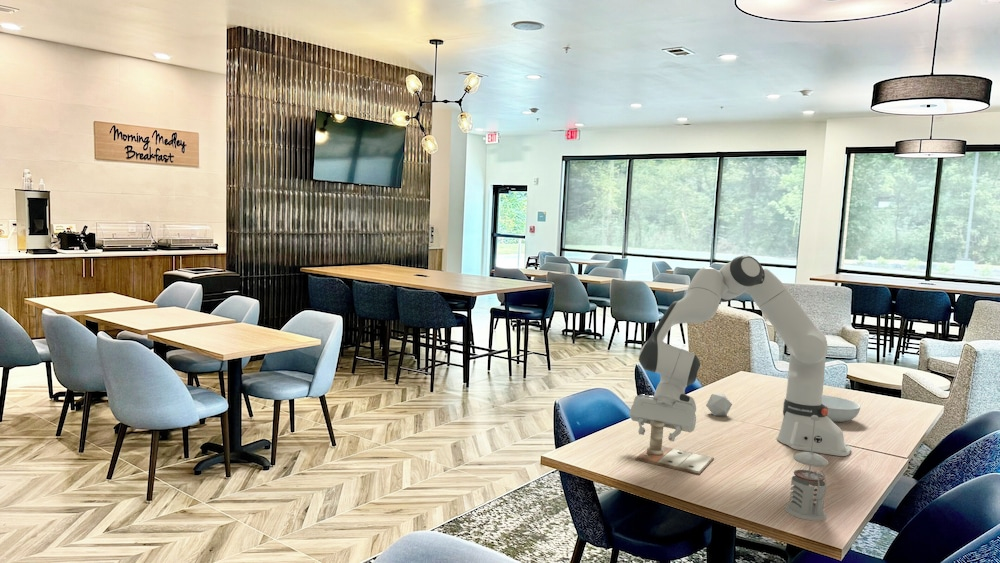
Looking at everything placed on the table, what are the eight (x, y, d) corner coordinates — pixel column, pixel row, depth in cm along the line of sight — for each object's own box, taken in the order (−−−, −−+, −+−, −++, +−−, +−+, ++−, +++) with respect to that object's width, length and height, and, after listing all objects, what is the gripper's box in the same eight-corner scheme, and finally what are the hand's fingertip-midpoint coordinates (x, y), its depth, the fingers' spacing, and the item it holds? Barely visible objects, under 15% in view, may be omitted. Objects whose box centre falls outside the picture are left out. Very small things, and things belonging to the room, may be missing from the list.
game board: (713, 459, 210) (714, 456, 210) (699, 474, 195) (699, 472, 195) (653, 445, 219) (653, 443, 219) (635, 459, 205) (635, 457, 205)
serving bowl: (789, 415, 267) (791, 398, 267) (813, 408, 281) (815, 392, 281) (845, 429, 252) (847, 411, 251) (867, 421, 266) (869, 404, 265)
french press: (815, 505, 178) (824, 410, 176) (838, 524, 166) (849, 424, 164) (777, 503, 178) (786, 408, 176) (798, 523, 166) (808, 422, 164)
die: (729, 421, 257) (739, 399, 260) (709, 408, 256) (720, 386, 260) (718, 422, 264) (727, 401, 268) (699, 410, 264) (709, 389, 267)
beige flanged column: (665, 452, 211) (668, 422, 211) (660, 456, 207) (663, 426, 206) (649, 448, 214) (652, 419, 213) (644, 453, 210) (647, 423, 209)
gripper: (634, 387, 220) (621, 424, 213) (698, 399, 210) (687, 438, 202) (638, 398, 224) (625, 435, 217) (701, 410, 214) (690, 449, 206)
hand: (655, 436), depth 209 cm, fingers open, 8 cm apart
